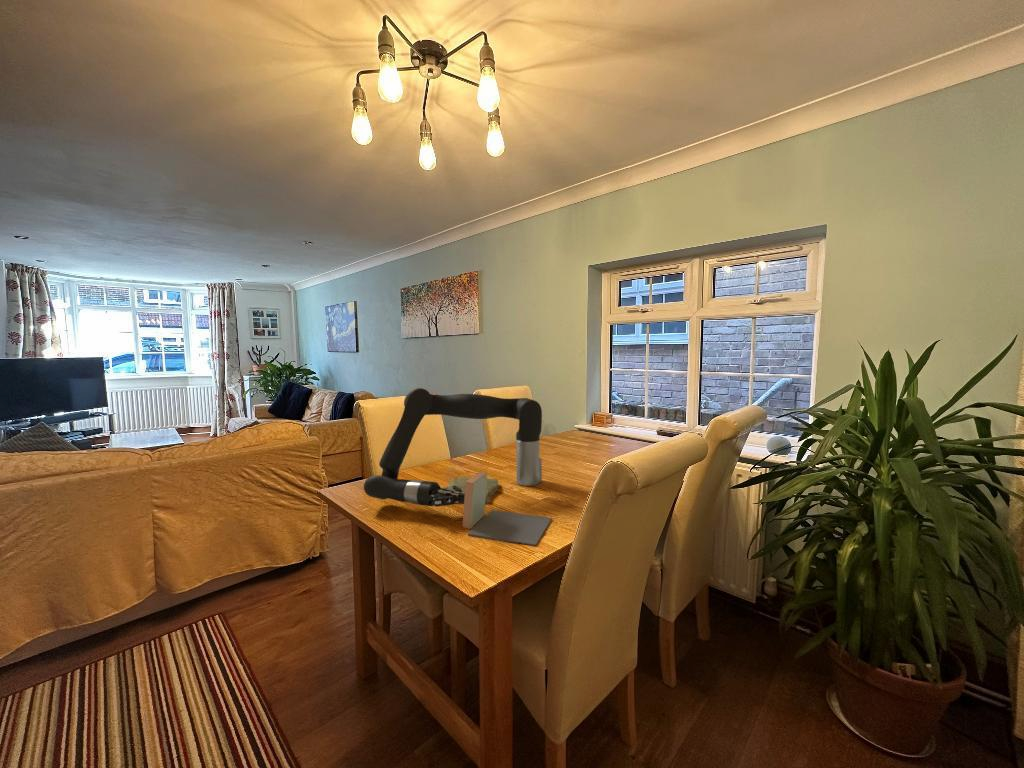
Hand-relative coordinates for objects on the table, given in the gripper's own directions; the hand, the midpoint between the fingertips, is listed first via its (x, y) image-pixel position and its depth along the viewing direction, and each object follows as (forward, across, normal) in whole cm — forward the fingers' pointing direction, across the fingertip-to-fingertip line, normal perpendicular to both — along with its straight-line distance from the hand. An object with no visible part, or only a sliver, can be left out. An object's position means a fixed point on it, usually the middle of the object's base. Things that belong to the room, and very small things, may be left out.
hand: (471, 498), depth 123 cm
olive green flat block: (-10, +22, +8) cm, 26 cm away
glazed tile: (+1, 0, +7) cm, 7 cm away
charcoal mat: (+13, 0, +7) cm, 15 cm away
